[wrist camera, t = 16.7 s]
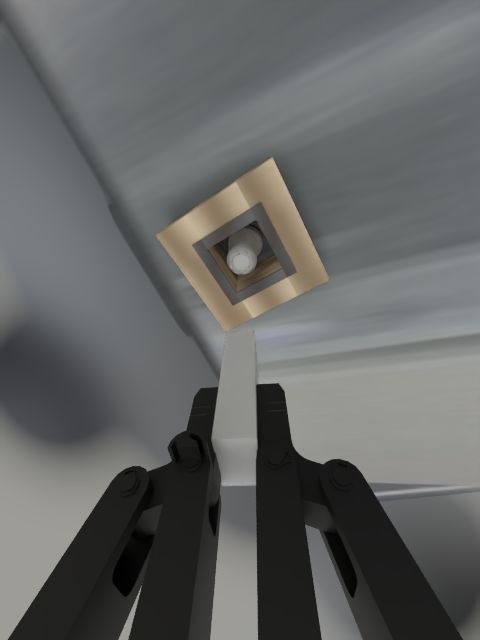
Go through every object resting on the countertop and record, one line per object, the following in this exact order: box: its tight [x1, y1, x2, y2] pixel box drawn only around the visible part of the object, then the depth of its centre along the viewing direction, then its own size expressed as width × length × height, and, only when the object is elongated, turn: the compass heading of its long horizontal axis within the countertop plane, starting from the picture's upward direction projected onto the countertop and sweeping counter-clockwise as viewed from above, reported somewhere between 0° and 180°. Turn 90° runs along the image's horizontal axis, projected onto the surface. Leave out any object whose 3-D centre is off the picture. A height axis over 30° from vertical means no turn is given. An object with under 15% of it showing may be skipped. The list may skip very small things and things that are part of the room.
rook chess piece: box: [227, 225, 263, 275], centre depth 32 cm, size 4×4×8 cm
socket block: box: [156, 157, 330, 331], centre depth 33 cm, size 14×14×6 cm
